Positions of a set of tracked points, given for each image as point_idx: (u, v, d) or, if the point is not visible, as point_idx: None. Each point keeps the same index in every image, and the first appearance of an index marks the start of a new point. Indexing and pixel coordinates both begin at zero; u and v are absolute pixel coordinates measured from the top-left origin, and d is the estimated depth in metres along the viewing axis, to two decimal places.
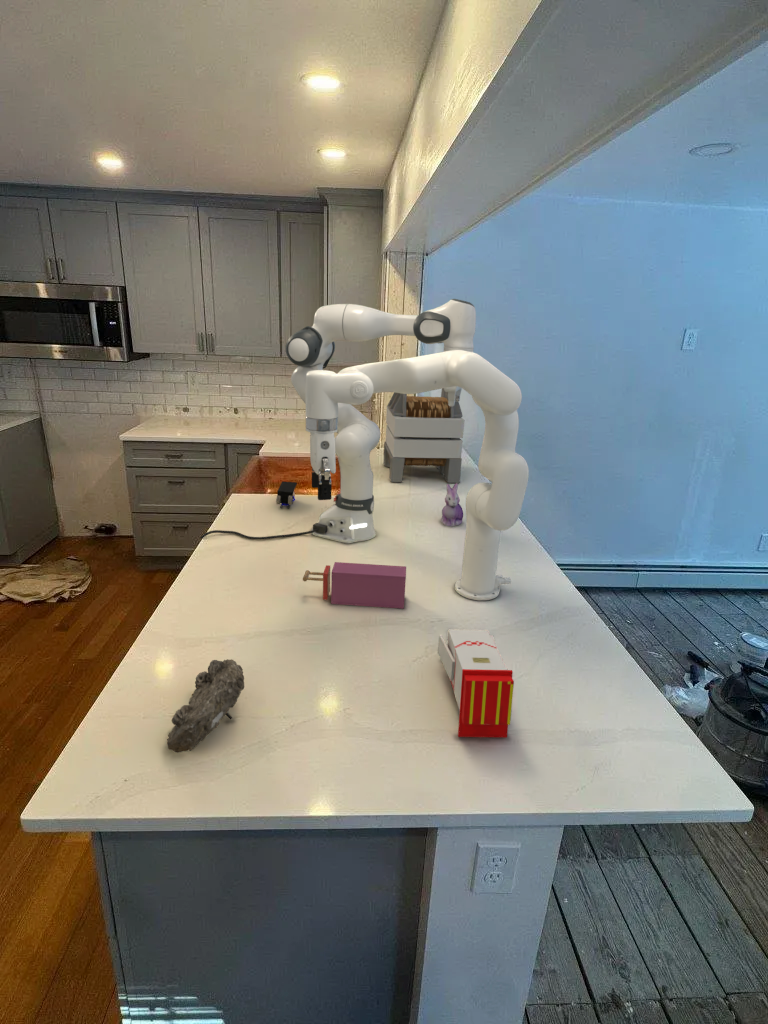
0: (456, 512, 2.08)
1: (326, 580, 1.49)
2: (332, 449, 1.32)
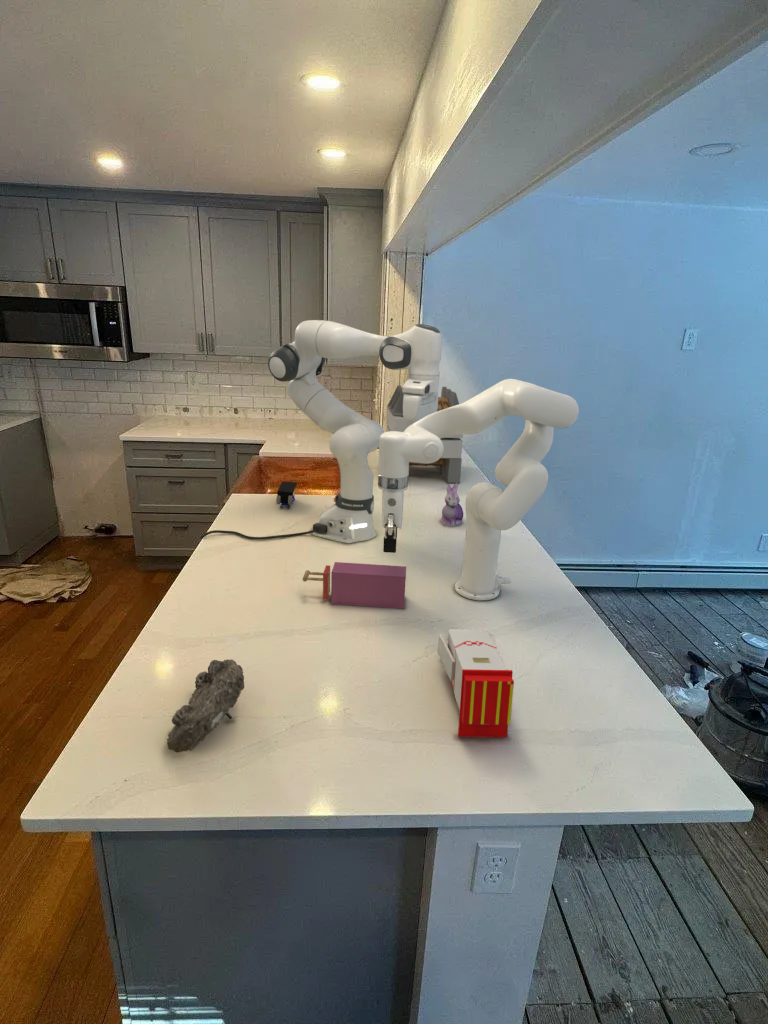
0: (456, 512, 2.08)
1: (326, 580, 1.49)
2: (398, 506, 1.39)
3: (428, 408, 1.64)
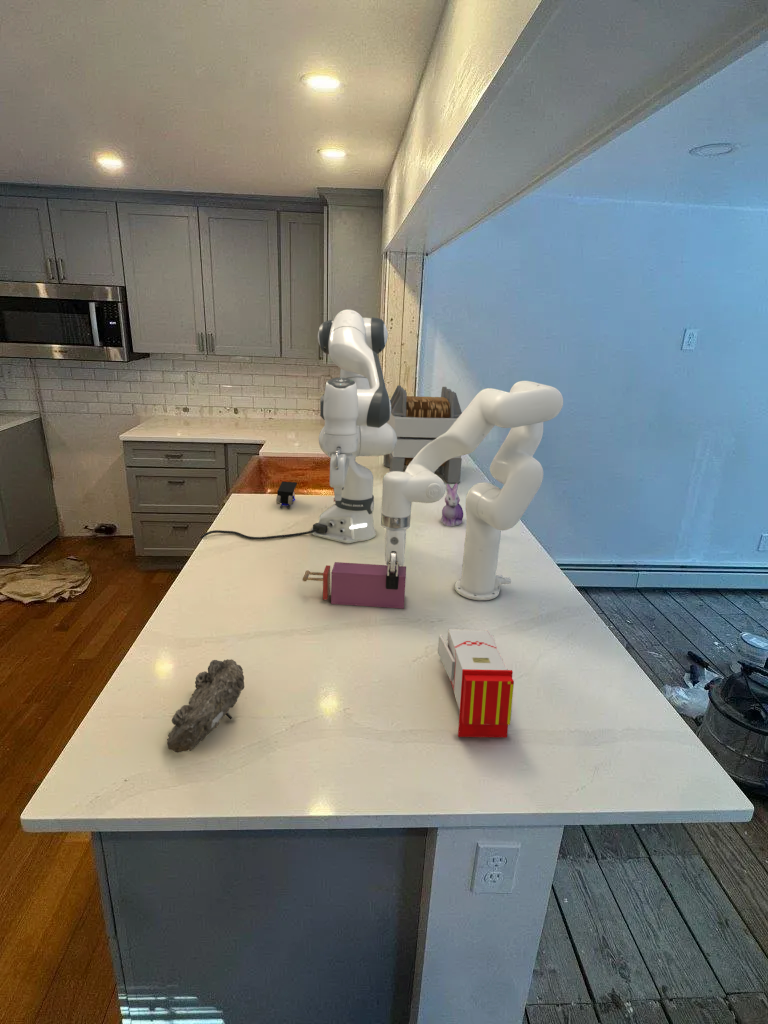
0: (456, 512, 2.08)
1: (326, 580, 1.49)
2: (401, 545, 1.42)
3: None
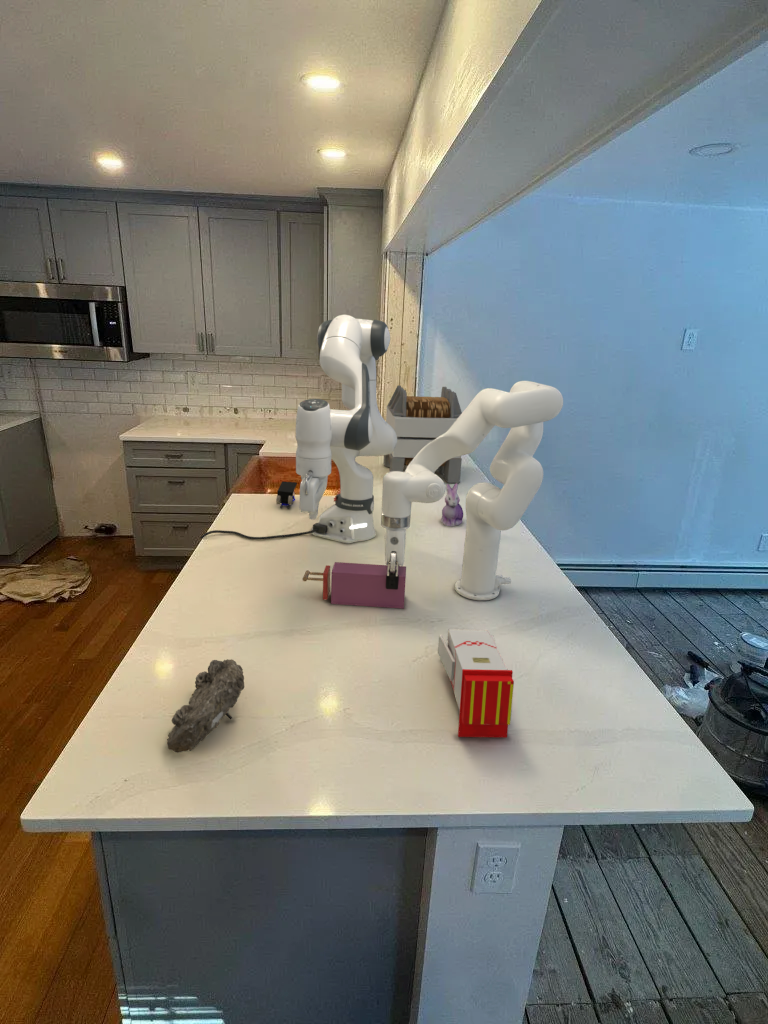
0: (456, 512, 2.08)
1: (326, 580, 1.49)
2: (401, 545, 1.42)
3: None
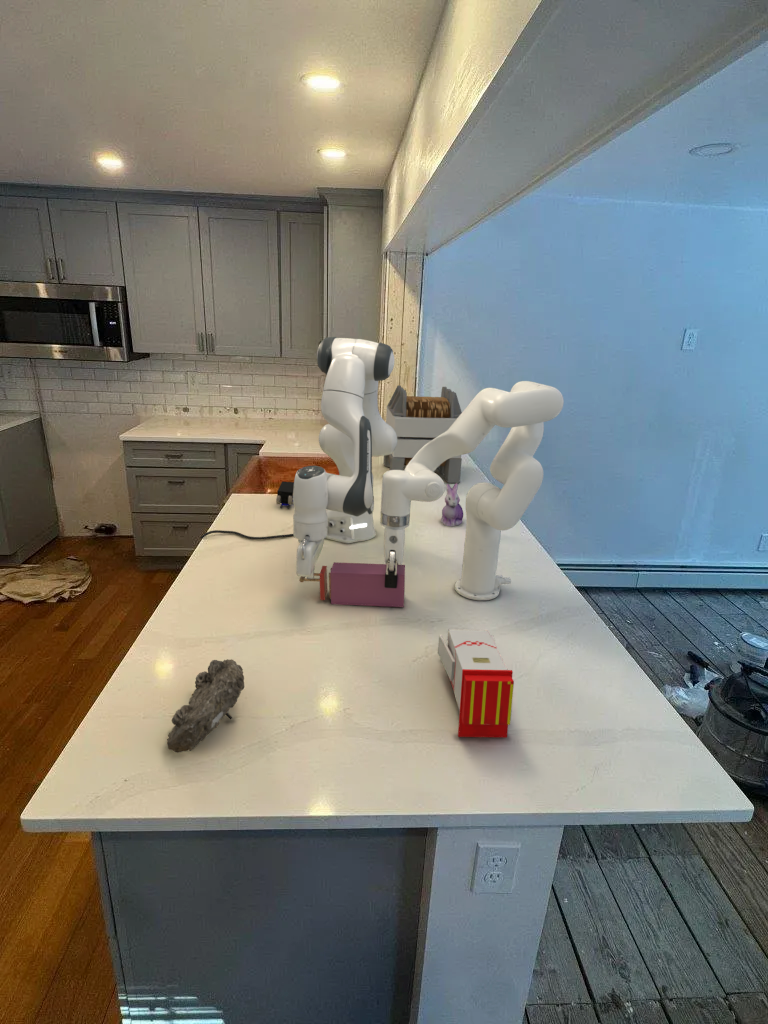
0: (456, 512, 2.08)
1: (323, 580, 1.49)
2: (400, 543, 1.42)
3: None
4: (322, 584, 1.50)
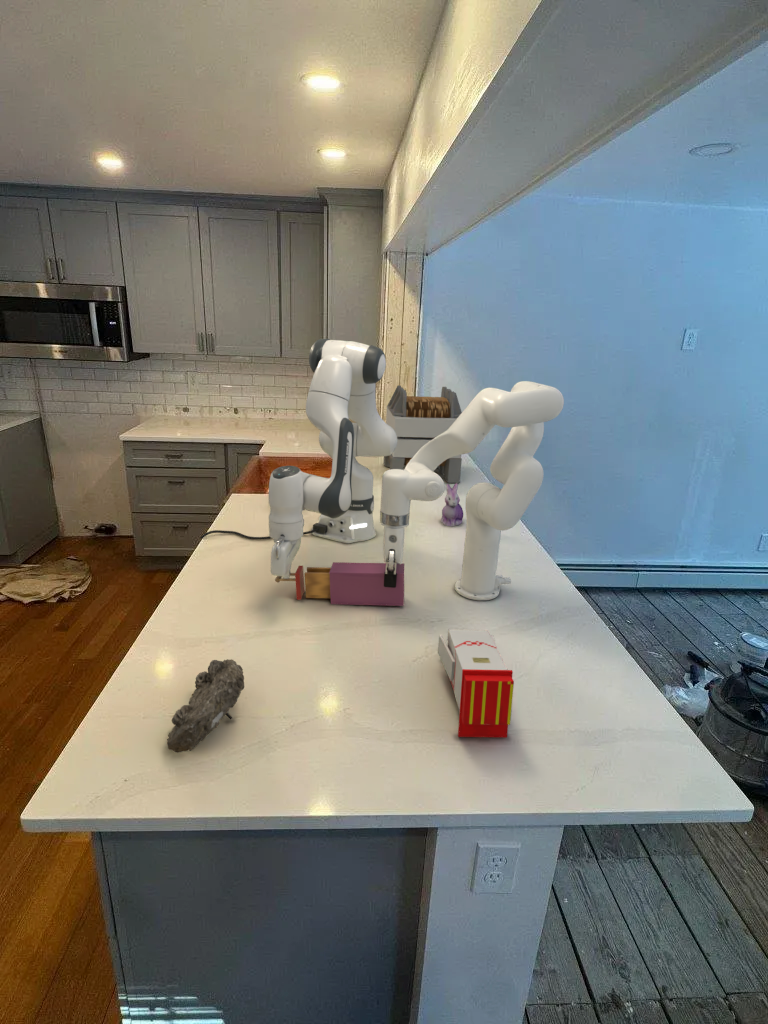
0: (456, 512, 2.08)
1: (298, 580, 1.50)
2: (399, 543, 1.42)
3: None
4: (298, 584, 1.50)
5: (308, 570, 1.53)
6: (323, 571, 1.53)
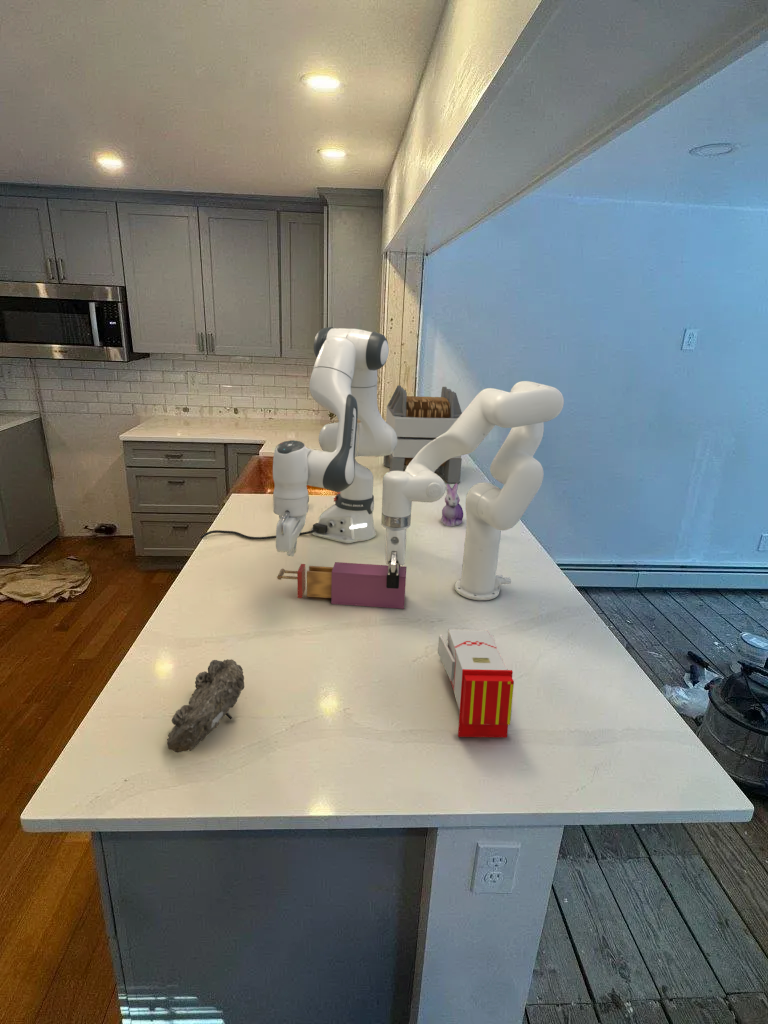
0: (456, 512, 2.08)
1: (300, 578, 1.50)
2: (401, 544, 1.42)
3: None
4: (300, 582, 1.50)
5: (310, 569, 1.53)
6: (325, 570, 1.53)
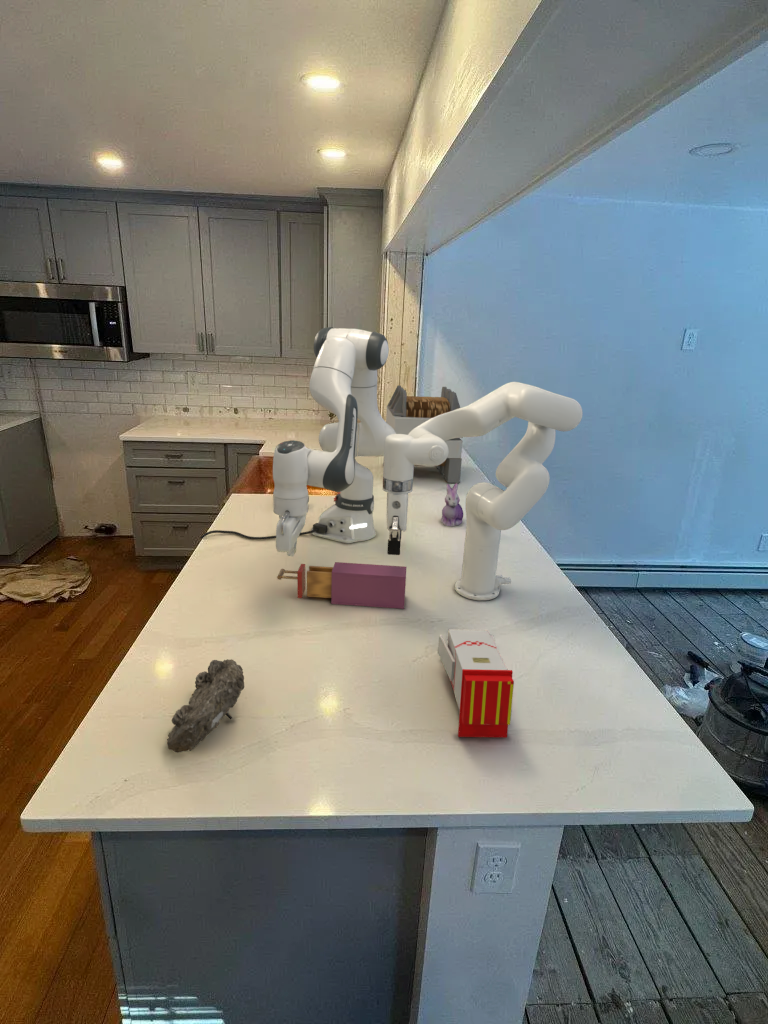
0: (456, 512, 2.08)
1: (300, 578, 1.50)
2: (403, 509, 1.39)
3: None
4: (300, 582, 1.50)
5: (310, 569, 1.53)
6: (325, 570, 1.53)
